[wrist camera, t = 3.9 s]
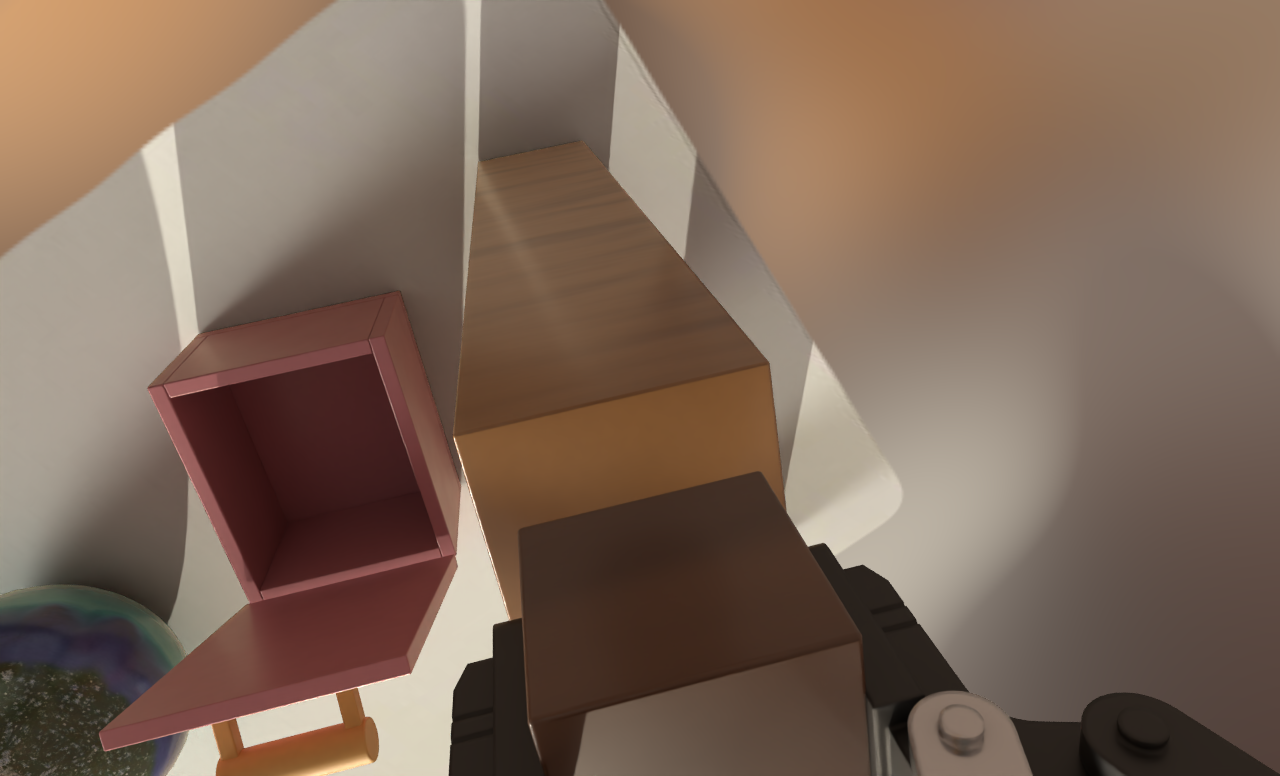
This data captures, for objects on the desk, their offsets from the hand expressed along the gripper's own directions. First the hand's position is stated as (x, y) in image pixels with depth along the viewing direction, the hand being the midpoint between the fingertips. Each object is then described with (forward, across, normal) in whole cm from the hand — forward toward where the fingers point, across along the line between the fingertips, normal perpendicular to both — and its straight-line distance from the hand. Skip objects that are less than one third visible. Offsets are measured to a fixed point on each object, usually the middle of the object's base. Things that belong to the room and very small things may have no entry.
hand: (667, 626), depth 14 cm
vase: (+37, +35, +22) cm, 55 cm away
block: (+1, 0, 0) cm, 1 cm away
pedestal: (+37, 0, 0) cm, 37 cm away
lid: (+22, +15, +14) cm, 30 cm away
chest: (+37, +15, +10) cm, 41 cm away
